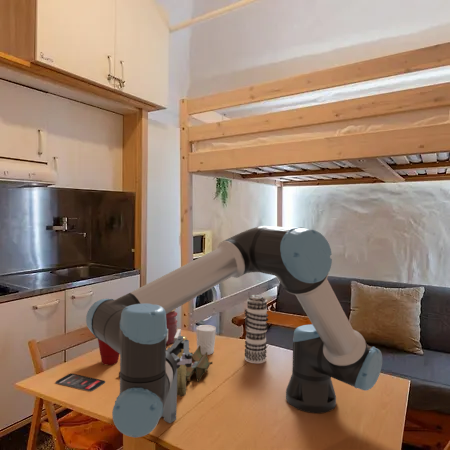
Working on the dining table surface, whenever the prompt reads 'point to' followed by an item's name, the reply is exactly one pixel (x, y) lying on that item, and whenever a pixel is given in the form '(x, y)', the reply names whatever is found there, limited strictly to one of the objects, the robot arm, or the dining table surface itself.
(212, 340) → the white cup
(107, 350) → the plastic cup
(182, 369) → the latch post
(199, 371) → the miniature gate
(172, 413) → the grey rectangular frame
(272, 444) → the dining table surface
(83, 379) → the smartphone
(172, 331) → the canister
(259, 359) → the decorative candle
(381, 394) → the dining table surface
